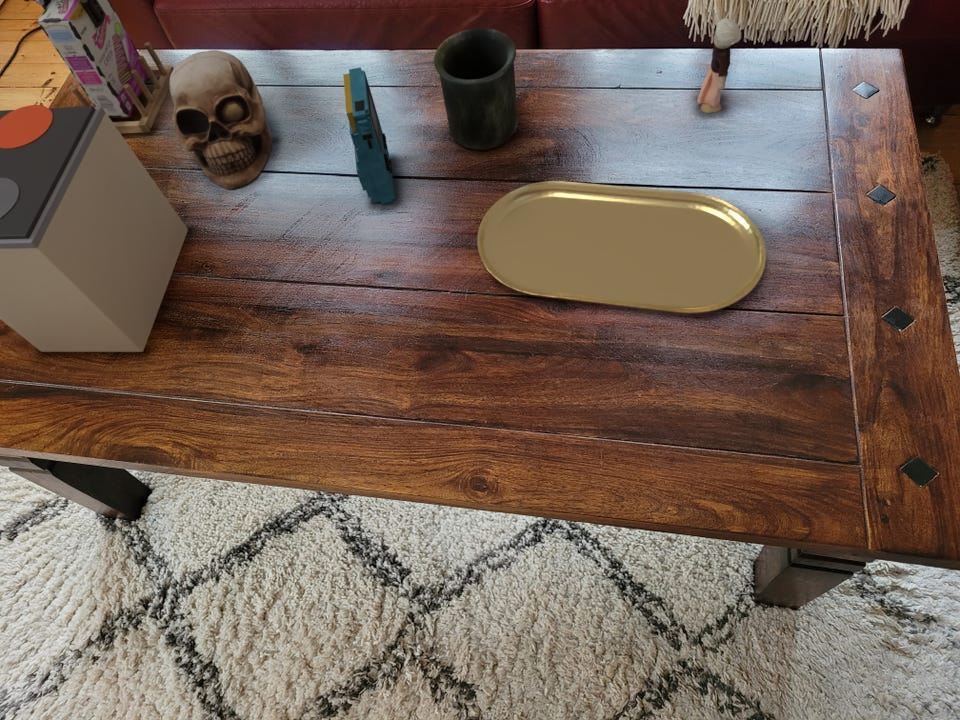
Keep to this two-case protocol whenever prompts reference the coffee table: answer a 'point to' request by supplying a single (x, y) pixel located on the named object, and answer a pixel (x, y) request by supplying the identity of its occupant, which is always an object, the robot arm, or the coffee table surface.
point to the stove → (80, 233)
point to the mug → (479, 87)
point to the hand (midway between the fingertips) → (82, 23)
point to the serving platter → (622, 246)
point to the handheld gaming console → (368, 139)
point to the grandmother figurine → (718, 65)
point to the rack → (154, 99)
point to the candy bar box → (95, 53)
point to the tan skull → (220, 117)
